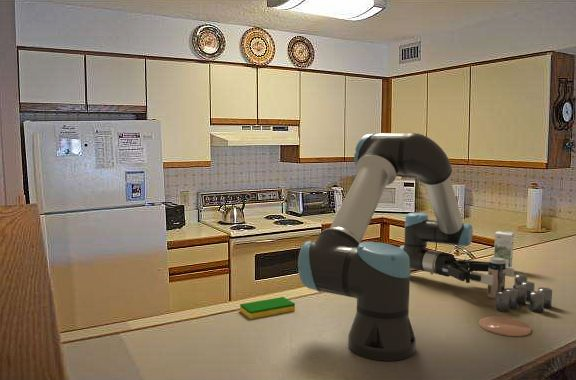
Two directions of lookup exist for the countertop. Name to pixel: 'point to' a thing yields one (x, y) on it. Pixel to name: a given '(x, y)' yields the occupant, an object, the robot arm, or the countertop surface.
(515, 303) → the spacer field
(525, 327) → the peach disc
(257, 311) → the dish sponge
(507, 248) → the syrup box
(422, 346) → the countertop surface
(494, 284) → the beer can
